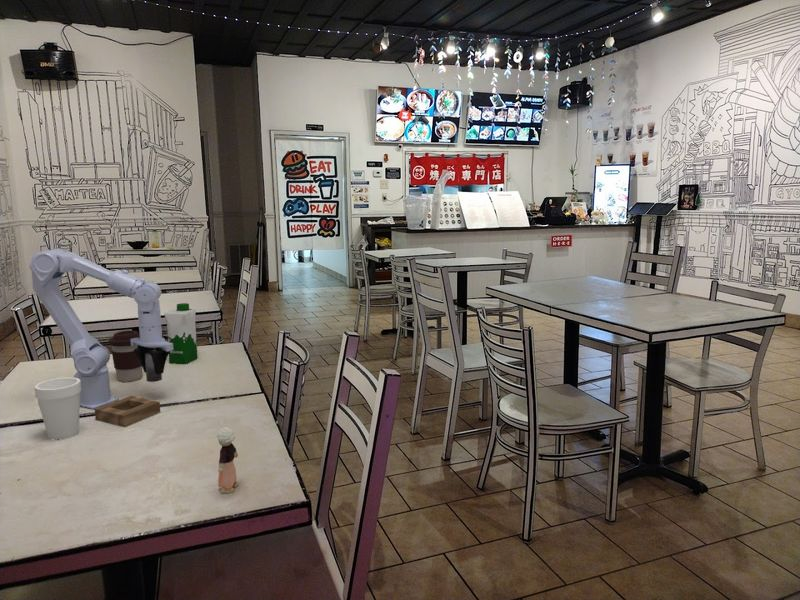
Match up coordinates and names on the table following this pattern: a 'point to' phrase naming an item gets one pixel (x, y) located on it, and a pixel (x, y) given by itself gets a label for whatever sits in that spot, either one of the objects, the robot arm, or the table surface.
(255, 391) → the table surface
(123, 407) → the square wooden ring
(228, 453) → the grandmother figurine
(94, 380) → the robot arm
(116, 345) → the coffee cup
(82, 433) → the table surface
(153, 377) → the round peg
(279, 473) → the table surface
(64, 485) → the table surface
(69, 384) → the foam cup
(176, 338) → the milk carton
